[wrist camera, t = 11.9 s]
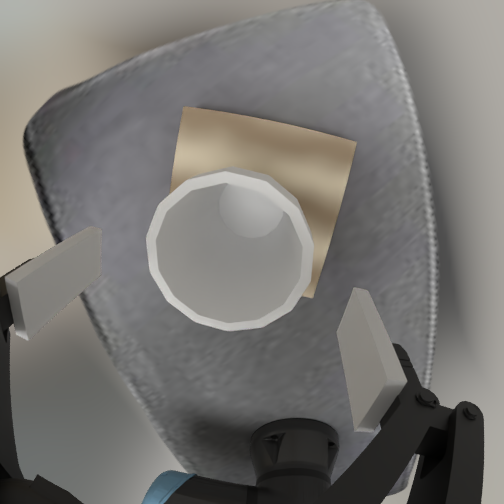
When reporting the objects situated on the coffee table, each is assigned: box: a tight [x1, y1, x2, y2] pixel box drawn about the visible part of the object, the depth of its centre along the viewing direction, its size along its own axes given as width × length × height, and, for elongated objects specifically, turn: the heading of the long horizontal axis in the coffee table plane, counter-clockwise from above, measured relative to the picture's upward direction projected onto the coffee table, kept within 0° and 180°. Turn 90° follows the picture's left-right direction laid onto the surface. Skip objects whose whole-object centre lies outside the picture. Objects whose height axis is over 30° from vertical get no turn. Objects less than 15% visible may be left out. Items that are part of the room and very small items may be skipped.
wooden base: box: [169, 106, 357, 298], centre depth 31 cm, size 16×16×4 cm
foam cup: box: [146, 166, 314, 331], centre depth 23 cm, size 10×9×13 cm
